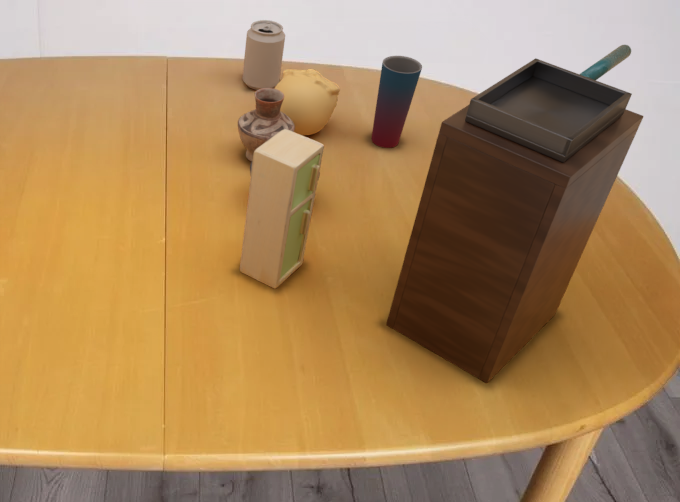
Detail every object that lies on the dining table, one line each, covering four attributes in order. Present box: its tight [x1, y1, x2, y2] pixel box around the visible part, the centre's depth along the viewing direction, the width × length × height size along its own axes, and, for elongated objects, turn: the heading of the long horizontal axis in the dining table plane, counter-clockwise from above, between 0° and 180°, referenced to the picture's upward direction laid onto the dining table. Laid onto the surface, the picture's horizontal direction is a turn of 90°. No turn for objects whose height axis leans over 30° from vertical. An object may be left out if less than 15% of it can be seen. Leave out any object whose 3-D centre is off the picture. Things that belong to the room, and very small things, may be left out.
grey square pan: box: [465, 44, 633, 162], centre depth 106 cm, size 30×12×3 cm, turn 136°
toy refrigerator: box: [239, 129, 325, 289], centre depth 125 cm, size 8×7×21 cm
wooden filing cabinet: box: [385, 104, 644, 384], centre depth 114 cm, size 20×16×32 cm
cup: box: [370, 55, 423, 149], centre depth 156 cm, size 7×7×15 cm
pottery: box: [237, 87, 321, 181], centre depth 146 cm, size 11×25×12 cm, turn 9°
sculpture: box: [274, 68, 341, 136], centre depth 160 cm, size 12×12×11 cm
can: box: [241, 19, 286, 91], centre depth 172 cm, size 8×8×12 cm
